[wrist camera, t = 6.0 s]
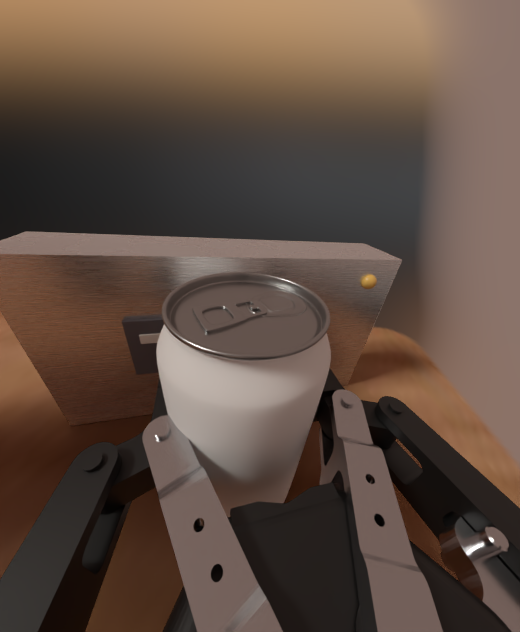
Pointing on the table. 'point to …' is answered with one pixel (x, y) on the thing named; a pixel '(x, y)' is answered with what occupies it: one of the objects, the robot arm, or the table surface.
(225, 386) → the can
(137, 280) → the psu panel
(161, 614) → the table surface
